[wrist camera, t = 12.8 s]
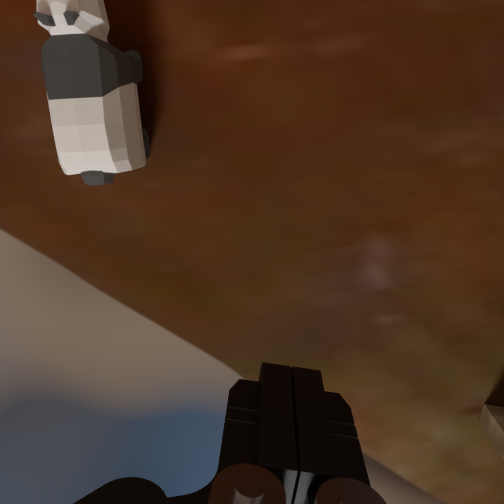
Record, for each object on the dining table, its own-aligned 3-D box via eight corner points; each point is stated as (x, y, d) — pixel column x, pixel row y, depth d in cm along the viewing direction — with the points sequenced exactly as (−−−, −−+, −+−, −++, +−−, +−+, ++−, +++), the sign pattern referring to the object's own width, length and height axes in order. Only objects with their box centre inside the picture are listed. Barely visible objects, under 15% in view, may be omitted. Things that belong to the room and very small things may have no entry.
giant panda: (158, 170, 39) (124, 192, 30) (94, 173, 40) (42, 196, 31) (136, -25, 35) (88, -68, 26) (63, -20, 35) (-9, -61, 26)
